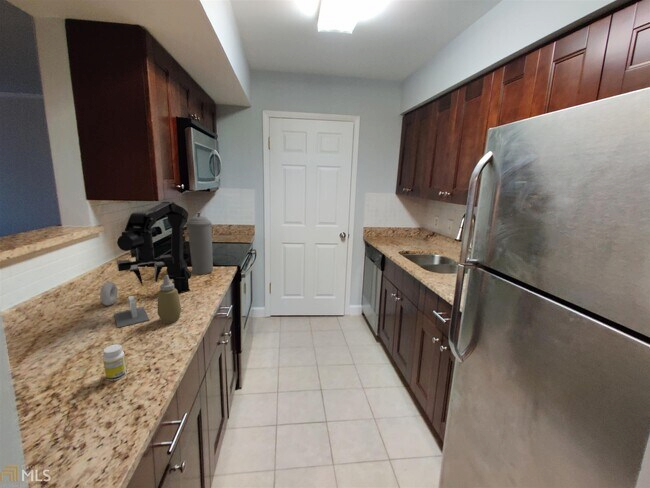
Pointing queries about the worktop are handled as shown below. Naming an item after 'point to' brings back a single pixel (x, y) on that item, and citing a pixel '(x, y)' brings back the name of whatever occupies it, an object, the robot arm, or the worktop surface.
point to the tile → (132, 306)
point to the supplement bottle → (114, 362)
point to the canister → (200, 244)
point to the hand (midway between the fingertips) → (148, 282)
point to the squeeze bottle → (168, 302)
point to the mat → (130, 317)
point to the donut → (108, 293)
